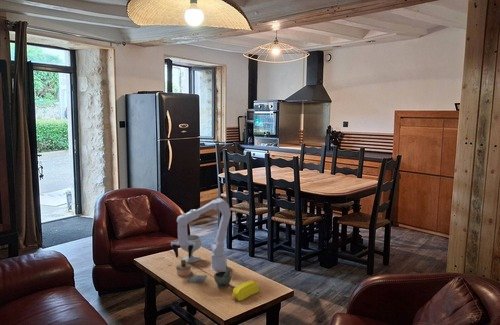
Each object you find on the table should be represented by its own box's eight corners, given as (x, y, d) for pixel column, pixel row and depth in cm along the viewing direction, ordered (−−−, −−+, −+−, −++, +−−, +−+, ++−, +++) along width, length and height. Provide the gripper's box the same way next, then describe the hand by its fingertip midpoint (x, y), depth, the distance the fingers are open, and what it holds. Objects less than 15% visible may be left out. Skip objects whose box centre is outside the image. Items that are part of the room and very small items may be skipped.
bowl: (192, 270, 233) (192, 264, 232) (188, 276, 225) (188, 270, 224) (179, 270, 234) (178, 264, 233) (175, 276, 225) (174, 269, 225)
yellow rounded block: (262, 292, 205) (252, 287, 211) (262, 280, 204) (252, 276, 210) (238, 304, 192) (228, 299, 198) (238, 291, 192) (228, 287, 197)
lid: (193, 266, 230) (193, 259, 229) (184, 271, 222) (184, 264, 222) (182, 263, 234) (182, 256, 233) (173, 268, 227) (173, 261, 226)
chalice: (199, 263, 244) (199, 241, 242) (178, 263, 244) (177, 241, 242) (203, 255, 257) (202, 234, 256) (183, 255, 258) (182, 234, 256)
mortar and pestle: (210, 286, 212) (210, 266, 210) (222, 280, 219) (221, 261, 217) (225, 292, 205) (225, 271, 203) (237, 286, 212) (236, 265, 210)
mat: (207, 276, 225) (207, 275, 225) (203, 284, 215) (203, 283, 215) (190, 276, 226) (190, 275, 226) (186, 283, 216) (186, 282, 216)
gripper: (196, 233, 229) (196, 255, 231) (172, 233, 231) (173, 254, 232) (193, 237, 222) (194, 259, 224) (169, 236, 224) (170, 258, 225)
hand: (183, 257), depth 228 cm, fingers open, 7 cm apart
